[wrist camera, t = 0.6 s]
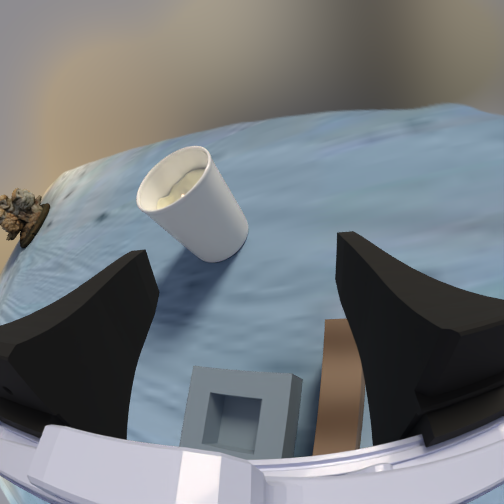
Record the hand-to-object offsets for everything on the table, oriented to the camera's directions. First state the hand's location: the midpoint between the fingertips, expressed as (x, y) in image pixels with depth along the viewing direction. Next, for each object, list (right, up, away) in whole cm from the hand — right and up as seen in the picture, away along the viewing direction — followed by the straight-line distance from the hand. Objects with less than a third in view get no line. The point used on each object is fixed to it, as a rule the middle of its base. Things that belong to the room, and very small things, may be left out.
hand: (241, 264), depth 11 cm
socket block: (0, -17, +15) cm, 22 cm away
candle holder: (-4, +2, +30) cm, 30 cm away
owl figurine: (-69, +8, +67) cm, 97 cm away
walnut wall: (+9, -15, +12) cm, 21 cm away
